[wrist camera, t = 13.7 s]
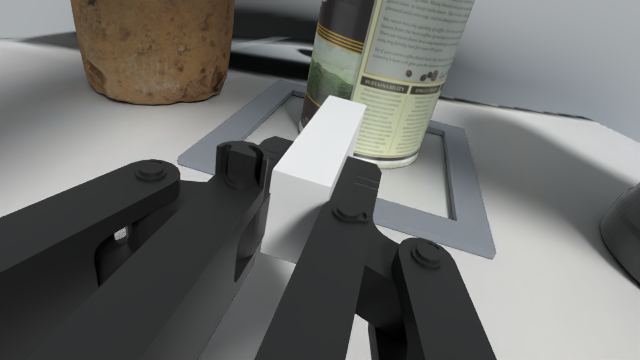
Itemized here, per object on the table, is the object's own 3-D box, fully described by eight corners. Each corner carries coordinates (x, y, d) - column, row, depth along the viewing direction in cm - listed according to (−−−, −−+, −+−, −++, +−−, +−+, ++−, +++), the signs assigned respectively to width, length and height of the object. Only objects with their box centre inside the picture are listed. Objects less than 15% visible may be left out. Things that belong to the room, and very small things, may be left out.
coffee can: (273, 136, 29) (305, -87, 21) (327, 103, 37) (363, -65, 30) (402, 186, 26) (489, -50, 19) (429, 139, 34) (496, -37, 27)
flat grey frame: (462, 133, 37) (464, 129, 37) (492, 259, 21) (496, 252, 21) (279, 84, 39) (280, 79, 39) (178, 163, 23) (178, 156, 23)
